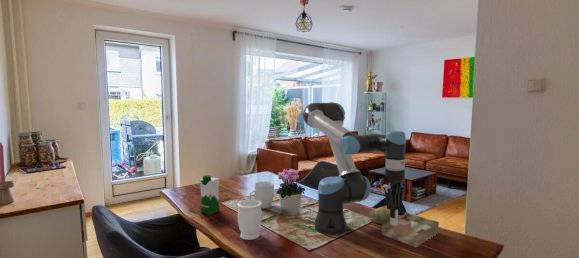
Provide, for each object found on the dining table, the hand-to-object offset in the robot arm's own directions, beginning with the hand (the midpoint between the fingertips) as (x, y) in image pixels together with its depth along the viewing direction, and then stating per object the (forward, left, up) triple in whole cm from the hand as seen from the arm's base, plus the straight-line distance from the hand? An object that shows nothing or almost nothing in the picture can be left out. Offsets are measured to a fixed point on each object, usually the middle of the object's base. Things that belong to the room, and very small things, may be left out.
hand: (393, 224), depth 127 cm
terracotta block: (0, +8, -6) cm, 10 cm away
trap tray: (0, +15, -8) cm, 17 cm away
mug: (-72, -15, -9) cm, 75 cm away
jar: (-45, -41, -9) cm, 62 cm away
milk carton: (-84, -41, -9) cm, 94 cm away
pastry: (-17, +19, -9) cm, 26 cm away
